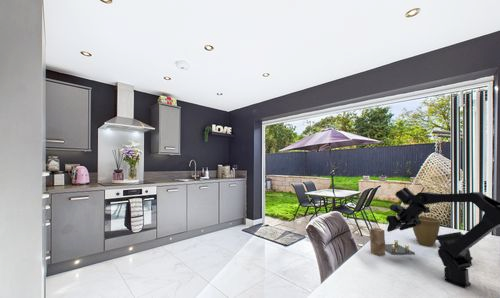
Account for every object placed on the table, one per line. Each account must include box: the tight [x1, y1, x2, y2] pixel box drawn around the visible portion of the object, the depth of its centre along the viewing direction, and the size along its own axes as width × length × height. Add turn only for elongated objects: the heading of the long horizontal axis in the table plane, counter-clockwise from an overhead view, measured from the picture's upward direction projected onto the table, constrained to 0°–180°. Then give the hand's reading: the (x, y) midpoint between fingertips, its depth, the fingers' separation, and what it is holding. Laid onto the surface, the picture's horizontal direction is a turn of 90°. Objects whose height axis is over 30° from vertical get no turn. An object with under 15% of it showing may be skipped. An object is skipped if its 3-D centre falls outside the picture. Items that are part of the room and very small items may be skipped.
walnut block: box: [369, 227, 386, 257], centre depth 119 cm, size 5×5×13 cm
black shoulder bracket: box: [436, 231, 473, 266], centre depth 112 cm, size 4×13×15 cm, turn 27°
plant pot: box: [412, 215, 441, 247], centre depth 136 cm, size 15×15×16 cm
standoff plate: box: [385, 239, 416, 256], centre depth 125 cm, size 13×13×4 cm
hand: (394, 230), depth 116 cm, fingers open, 9 cm apart
